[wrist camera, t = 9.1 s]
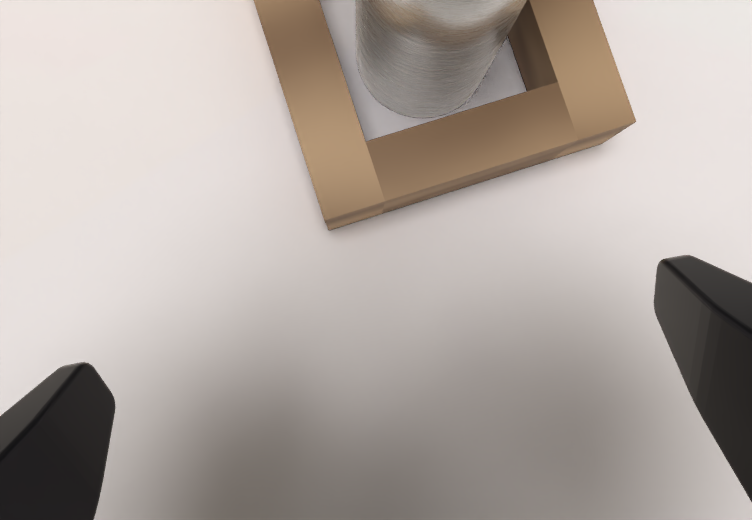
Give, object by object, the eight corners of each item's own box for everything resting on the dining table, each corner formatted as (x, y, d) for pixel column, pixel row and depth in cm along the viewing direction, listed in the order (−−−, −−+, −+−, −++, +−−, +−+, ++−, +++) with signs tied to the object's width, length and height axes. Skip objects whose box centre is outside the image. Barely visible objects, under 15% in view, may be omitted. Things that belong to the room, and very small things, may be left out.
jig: (601, 143, 20) (636, 121, 18) (328, 230, 20) (324, 220, 17) (510, -118, 21) (530, -175, 18) (242, -40, 20) (225, -88, 18)
